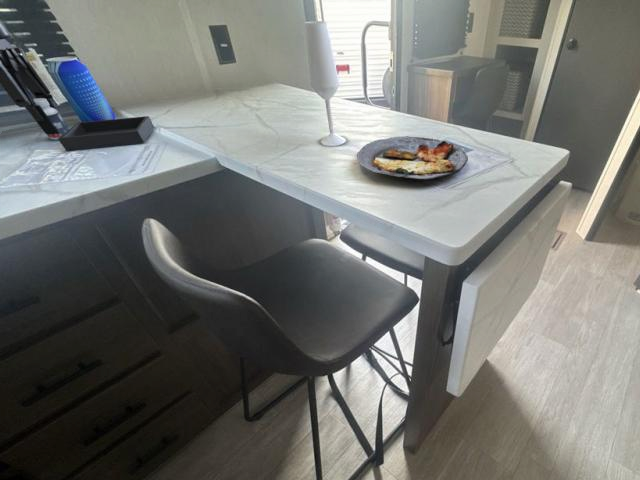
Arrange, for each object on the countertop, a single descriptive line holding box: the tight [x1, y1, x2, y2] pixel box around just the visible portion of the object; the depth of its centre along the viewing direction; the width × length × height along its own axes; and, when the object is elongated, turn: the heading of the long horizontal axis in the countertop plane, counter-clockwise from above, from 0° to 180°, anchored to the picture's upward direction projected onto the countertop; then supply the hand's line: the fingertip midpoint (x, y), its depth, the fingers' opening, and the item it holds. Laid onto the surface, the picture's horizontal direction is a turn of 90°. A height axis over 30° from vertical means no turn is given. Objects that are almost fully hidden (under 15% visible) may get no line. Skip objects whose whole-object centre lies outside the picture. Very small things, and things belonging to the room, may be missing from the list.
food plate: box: [356, 135, 469, 180], centre depth 72 cm, size 25×23×4 cm
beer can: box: [45, 56, 117, 122], centre depth 88 cm, size 8×8×16 cm
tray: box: [57, 115, 156, 152], centre depth 85 cm, size 18×14×3 cm
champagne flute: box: [304, 20, 347, 147], centre depth 75 cm, size 7×7×24 cm
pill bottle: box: [33, 98, 70, 141], centre depth 84 cm, size 5×5×9 cm
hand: (57, 129), depth 86 cm, fingers closed on pill bottle, 5 cm apart
